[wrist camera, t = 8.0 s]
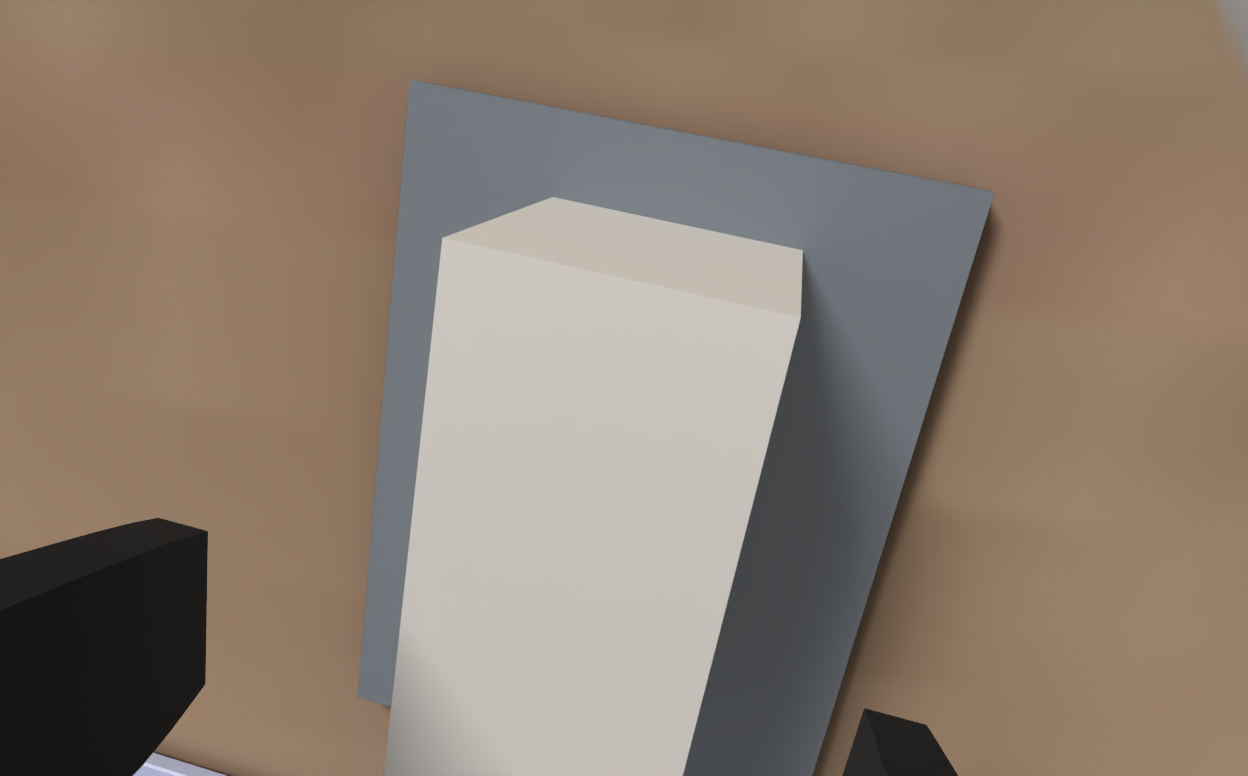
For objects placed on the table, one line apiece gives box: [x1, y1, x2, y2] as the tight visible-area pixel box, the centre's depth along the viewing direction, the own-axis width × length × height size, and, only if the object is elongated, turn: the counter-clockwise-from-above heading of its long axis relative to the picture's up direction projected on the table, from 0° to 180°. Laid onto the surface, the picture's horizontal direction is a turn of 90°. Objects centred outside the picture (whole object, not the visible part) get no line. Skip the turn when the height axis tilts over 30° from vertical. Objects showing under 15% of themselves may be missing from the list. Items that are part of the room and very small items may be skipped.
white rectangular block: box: [384, 197, 803, 776], centre depth 13 cm, size 4×8×4 cm, turn 169°
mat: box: [358, 81, 994, 776], centre depth 15 cm, size 12×9×1 cm
